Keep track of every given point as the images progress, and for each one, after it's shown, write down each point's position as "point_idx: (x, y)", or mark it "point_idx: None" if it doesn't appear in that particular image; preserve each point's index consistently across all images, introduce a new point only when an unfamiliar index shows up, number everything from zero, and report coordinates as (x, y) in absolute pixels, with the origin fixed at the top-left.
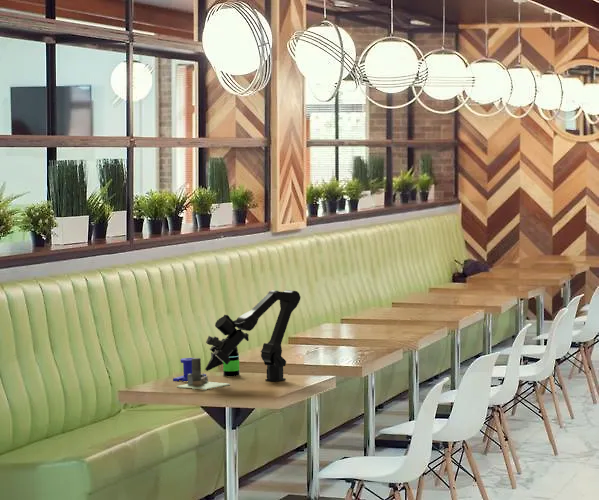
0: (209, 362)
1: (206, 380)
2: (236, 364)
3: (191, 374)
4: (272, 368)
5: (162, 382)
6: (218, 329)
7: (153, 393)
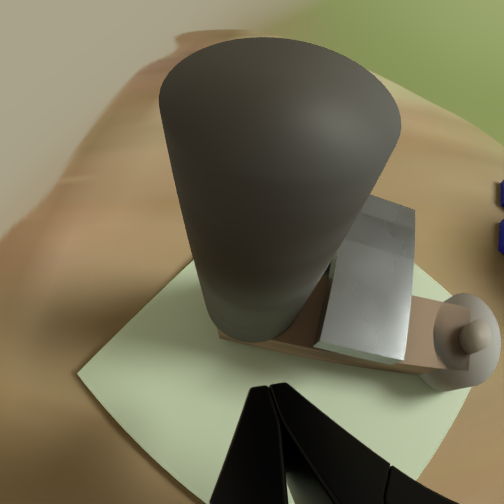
0: (323, 488)
1: (434, 384)
2: None
3: (353, 223)
4: None
5: (457, 138)
6: None
7: (121, 95)
